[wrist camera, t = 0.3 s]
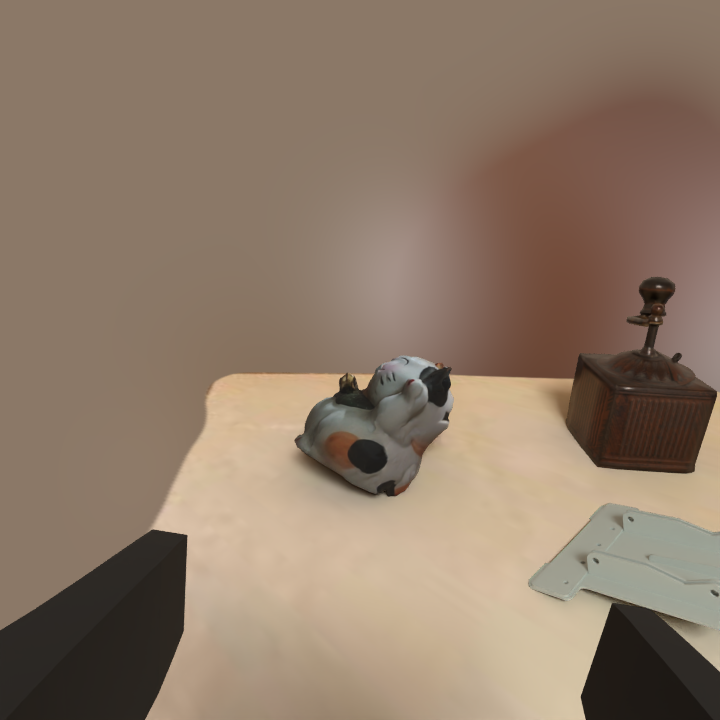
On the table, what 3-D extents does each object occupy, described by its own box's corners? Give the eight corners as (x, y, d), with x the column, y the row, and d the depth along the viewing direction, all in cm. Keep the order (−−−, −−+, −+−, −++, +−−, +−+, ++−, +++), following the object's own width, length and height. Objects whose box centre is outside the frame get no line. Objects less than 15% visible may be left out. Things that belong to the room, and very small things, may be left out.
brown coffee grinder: (702, 475, 54) (758, 306, 48) (595, 468, 55) (637, 299, 48) (633, 410, 69) (669, 274, 63) (549, 405, 69) (576, 268, 63)
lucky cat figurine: (317, 423, 60) (379, 318, 58) (407, 482, 58) (474, 375, 57) (271, 451, 45) (352, 312, 43) (390, 530, 44) (480, 389, 42)
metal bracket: (789, 517, 39) (750, 630, 29) (791, 589, 40) (754, 724, 29) (592, 483, 49) (511, 558, 39) (597, 541, 50) (519, 629, 40)
